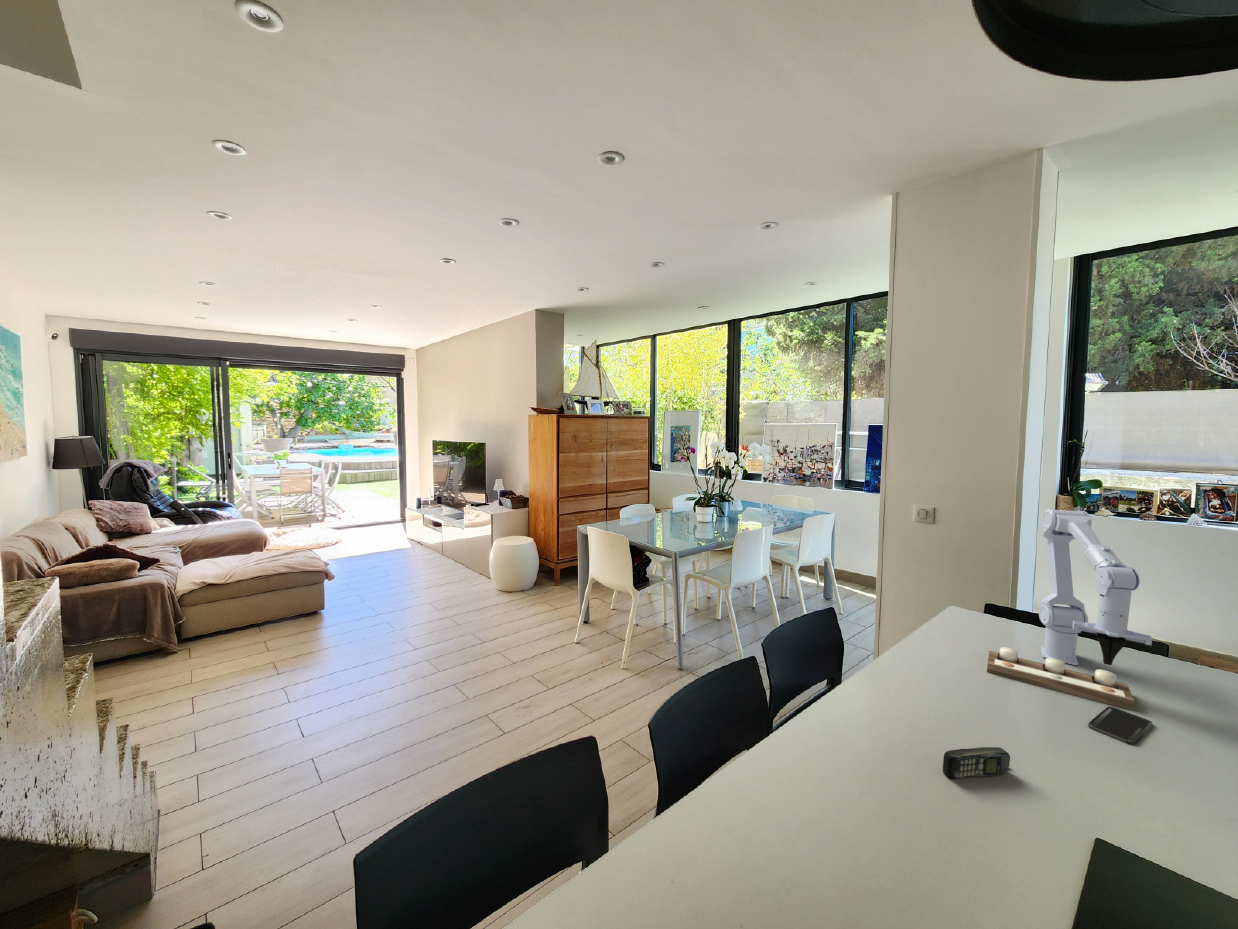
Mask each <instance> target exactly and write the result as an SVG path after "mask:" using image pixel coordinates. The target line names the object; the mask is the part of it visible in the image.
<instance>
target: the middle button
mask: <svg viewBox="0 0 1238 929" xmlns="http://www.w3.org/2000/svg"><path fill="white" fill-rule="evenodd" d="M1044 664H1045V669H1046V670H1048V671H1050V672H1053V673H1058V674H1063V673H1064V670H1065V669H1066V663H1064V662H1063V661H1061V660H1058V659H1055V658H1045V663H1044Z"/></svg>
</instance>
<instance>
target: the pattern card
mask: <svg viewBox="0 0 1238 929" xmlns="http://www.w3.org/2000/svg"><path fill="white" fill-rule="evenodd" d="M994 665H998V666H1002V667H1006V668H1010V669H1014V670H1018V671H1022V672H1026V673H1030V674H1034V675H1038V676H1042V677H1045V678H1049V679H1053V680H1057V681H1061V682H1065V683H1069V684H1073V685H1077V686H1081V687H1085V688H1089V689H1093V690H1097V691H1101V692H1105V693H1109V694H1113V695H1116V696H1120V697H1124V698H1125V694H1124V692H1123V691H1122V690H1118V689H1114V688H1109V687H1105V686H1101V685H1097V684H1093V683H1089V682H1085V681H1081V680H1077V679H1073V678H1069V677H1065V676H1061V675H1057V674H1053V673H1049V672H1045V671H1041V670H1037V669H1033V668H1029V667H1025V666H1021V665H1017V664H1013V663H1009V662H1005V661H1001V660H997V659H995V663H994Z"/></svg>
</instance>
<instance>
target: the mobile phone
mask: <svg viewBox="0 0 1238 929" xmlns="http://www.w3.org/2000/svg"><path fill="white" fill-rule="evenodd" d="M942 761H943V762H942V773H943V774H944V776H946V777H947V778H948V779H952V780H954V779H964V778H974V777H978V778H979V777H995V776H999V775H1001V774H1003V773H1005V772H1007V771H1008V769H1009V768H1010V765H1011V764H1010V762H1011V756H1010V753H1009V752H1008V751H1006V750H1005V748H1004V749H1003V748H1002V747H999V746H996V747H995V746H994V747H992V746H991V747H990V746H988V747H987V746H986V747H984V746H982V747H973V748H959V749H951V750H948V751H947V750H946V751H945V753H944V754H943V760H942Z"/></svg>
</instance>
